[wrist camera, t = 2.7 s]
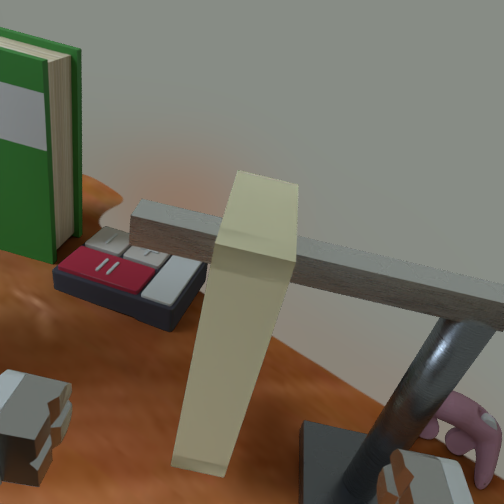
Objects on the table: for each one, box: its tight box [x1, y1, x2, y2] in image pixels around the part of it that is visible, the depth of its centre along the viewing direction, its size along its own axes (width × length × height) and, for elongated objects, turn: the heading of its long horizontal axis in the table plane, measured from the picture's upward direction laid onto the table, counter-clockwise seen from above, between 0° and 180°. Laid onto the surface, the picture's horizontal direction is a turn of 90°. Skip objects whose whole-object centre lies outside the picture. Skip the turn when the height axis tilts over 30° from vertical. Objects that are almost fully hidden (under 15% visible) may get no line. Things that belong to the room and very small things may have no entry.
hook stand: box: [129, 199, 504, 504], centre depth 32 cm, size 26×10×24 cm, turn 84°
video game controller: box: [419, 390, 502, 489], centre depth 44 cm, size 10×5×7 cm, turn 65°
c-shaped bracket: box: [171, 170, 298, 478], centre depth 31 cm, size 4×9×20 cm, turn 174°
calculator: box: [52, 226, 208, 332], centre depth 54 cm, size 11×4×15 cm
